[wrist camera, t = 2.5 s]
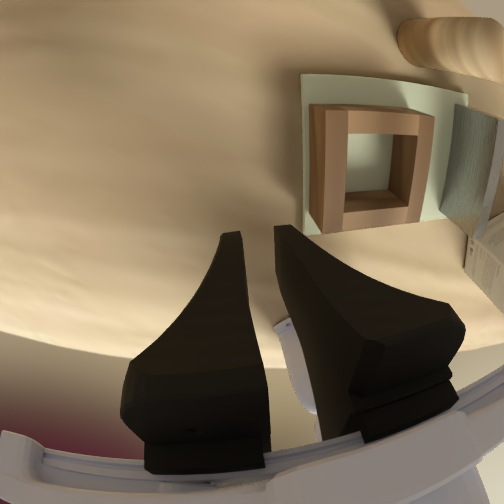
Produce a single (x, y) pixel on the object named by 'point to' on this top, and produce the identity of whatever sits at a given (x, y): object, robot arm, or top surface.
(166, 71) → the top surface
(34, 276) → the top surface
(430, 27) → the dowel
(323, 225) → the brown wooden square frame
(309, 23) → the top surface
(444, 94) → the board
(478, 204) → the wall
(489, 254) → the skincare box
